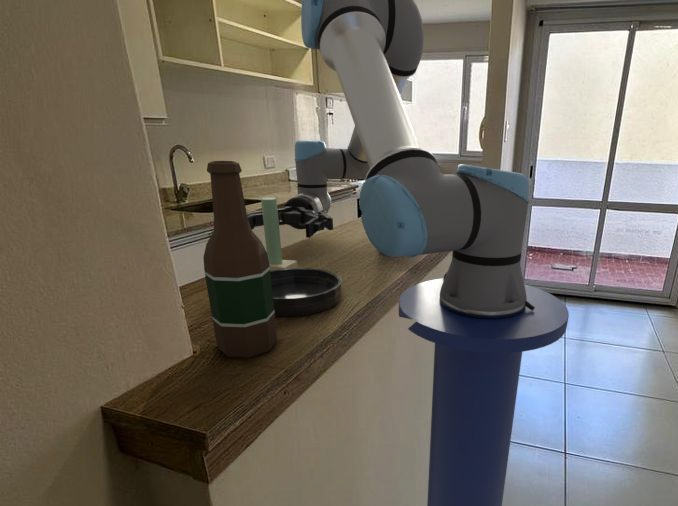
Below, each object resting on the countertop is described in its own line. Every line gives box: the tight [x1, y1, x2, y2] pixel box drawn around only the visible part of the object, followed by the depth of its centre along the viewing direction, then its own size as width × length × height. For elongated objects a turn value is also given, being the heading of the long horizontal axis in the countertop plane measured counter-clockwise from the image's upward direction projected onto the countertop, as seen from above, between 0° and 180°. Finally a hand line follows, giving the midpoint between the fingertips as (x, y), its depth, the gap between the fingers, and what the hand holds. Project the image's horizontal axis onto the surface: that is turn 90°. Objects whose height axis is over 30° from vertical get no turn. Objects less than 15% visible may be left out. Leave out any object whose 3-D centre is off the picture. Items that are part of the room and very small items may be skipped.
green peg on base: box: [260, 197, 299, 271], centre depth 88 cm, size 7×5×15 cm
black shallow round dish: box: [270, 267, 343, 318], centre depth 77 cm, size 16×16×3 cm
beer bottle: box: [203, 160, 278, 358], centre depth 57 cm, size 8×8×24 cm
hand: (273, 229), depth 88 cm, fingers open, 13 cm apart
